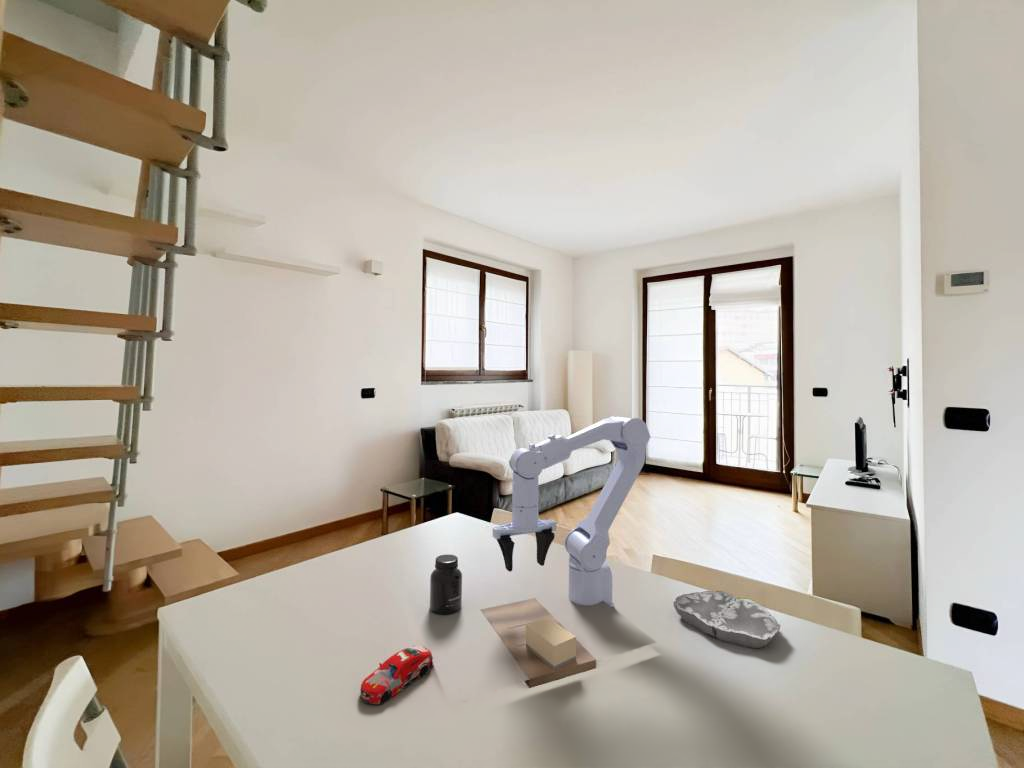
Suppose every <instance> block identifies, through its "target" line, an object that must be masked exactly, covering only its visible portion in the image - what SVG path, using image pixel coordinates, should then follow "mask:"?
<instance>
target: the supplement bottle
mask: <svg viewBox="0 0 1024 768" xmlns="http://www.w3.org/2000/svg"><path fill="white" fill-rule="evenodd" d="M458 558H459V557H458V556H457V555H454V554H442V555H439V556H436V558H435V562H434V563H435V564H434V568H435V569H434V570H432V572H431V574H430V579H429V580H430V582H429V583H430V585H429V588H430V589H429V611H430V612H431V613H432V614H435V615H437V616H450V615H453V614H454V615H455V614H456V613H458V612H459V611H461V609H462V608H463V607H462V606H463V605H462V603H463V601H462V600H463V599H462V598H463V596H462V595H463V574H462V571H461V569H459V568H458V567H459V560H458Z"/></svg>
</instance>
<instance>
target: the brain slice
mask: <svg viewBox="0 0 1024 768" xmlns="http://www.w3.org/2000/svg"><path fill="white" fill-rule="evenodd" d="M673 607H674V609H675V612H676V613H677V615H679V616H680V617H681V619H682V620H683V621H684V622H685V623H688V625H690V626H693V627H694V628H696V629H697V630H699V631H701V632H703V633H704V634H706V635H708V636H709V635H710V636H711V637H714V638H717V639H718V640H719V641H723V642H725V643H730V644H735V645H738V646H743V647H745V648H751V649H759V648H763V647H765V646H767V644H769V643H770V642H771V641H772V640H773V639H774V638H775V636H776V634H777V633H778V632H779V630H780V628H781V624H780V623H778V622H777V619H776V618H775V617H774V616H773V615H772V614H771V612H769V611H768V610H767V609H766V608H764V606H763V605H761V604H759V603H758V602H755V601H754V600H752V599H750V598H747V597H738V598H737V597H736V595H733V594H731V593H728V592H725V591H718V590H717V591H712V590H705V591H702V592H697V591H696V592H692V593H684V594H682V595H679V596H677V597H676V598H675V600H674V601H673Z"/></svg>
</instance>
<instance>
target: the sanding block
mask: <svg viewBox="0 0 1024 768" xmlns="http://www.w3.org/2000/svg"><path fill="white" fill-rule="evenodd" d="M563 627H564V626H563ZM563 627H561V626H560V625H559V624H557V623H556V622H554V621H553V620H551V619H550V618H548V617H545V618H542V619H539V620H537V621H534V622H532V623H529V624H527V625H526V647H527V648H528V649H530V650H531V651H532V652H533V653H534V654H536V655H537V656H538V657H539V658H541V659H542V660H543V661H544V662H545V663H547V664H548V665H549V666H550V667H551V668H553V669H554V670H555V669H557V668H559V667H561V666H563V665H565V664H567V663H569V662H571V661H573V660H576V640H577V636H576V635H574V634H573V633H571V632H570V631H568V630H567V628H565V627H564V628H565V629H564V628H563Z"/></svg>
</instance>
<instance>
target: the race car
mask: <svg viewBox="0 0 1024 768" xmlns="http://www.w3.org/2000/svg"><path fill="white" fill-rule="evenodd" d="M433 659H434V658H433V654H432V651H431V650H430V649H428V648H427V647H425V646H423V645H421V644H420V645H413V646H410V647H407V648H404V649H402V650H401V649H400V650H399V651H398V652H395V653H394V654H393V655H391V656H390V657H389V658H387V659H386V660H385V661H383V663H381V662H379V663H378V664H379V667H378V668H377V669H376V670H374V671H373V672H371V674H369V675H368V676H367V677H365V678H364V679H363V680H362V682H361V684H360V692H359V693H360V698H361V700H362V701H363V702H365V703H366V704H371V705H380V704H382V705H385V703H387V702H389V701H390V699H391V697H395V696H396V695H397V694H399V693H400V692H402V691H403V690H404V689H406V688H407V687H409V686H410V685H411V684H413V683H414V682H416V681H418V680H419V679H420V678H423V677H424V676H425V675H428V674H427V673H428V672H429V671H430V670H431V669H432V668H433V666H434V663H433Z"/></svg>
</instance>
